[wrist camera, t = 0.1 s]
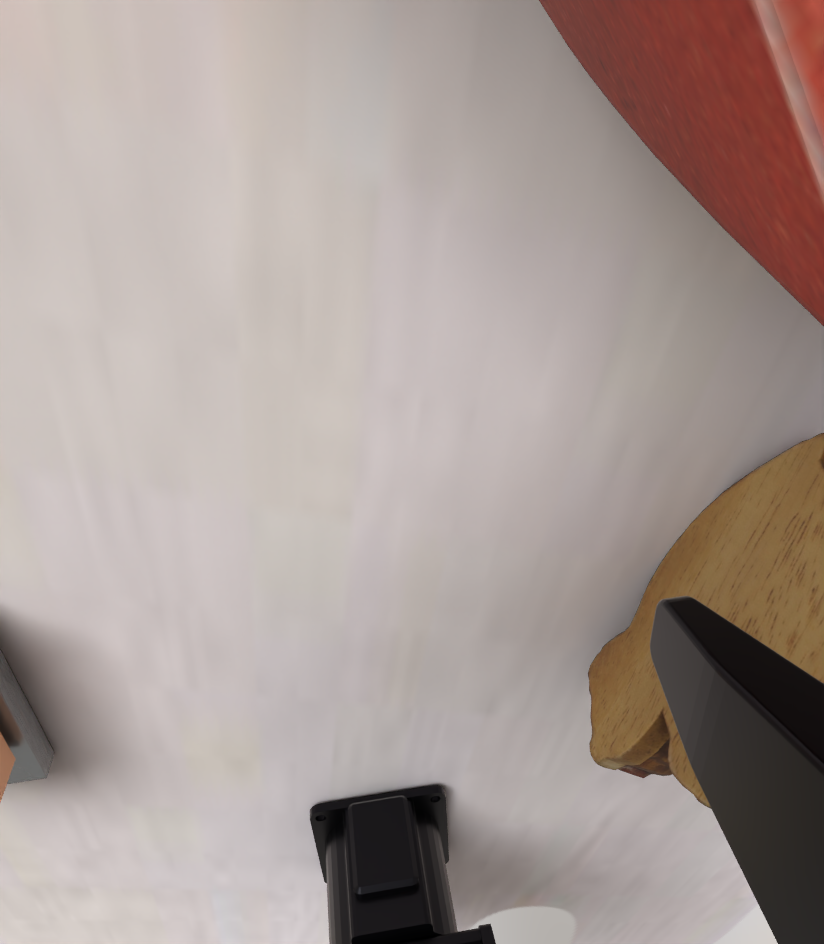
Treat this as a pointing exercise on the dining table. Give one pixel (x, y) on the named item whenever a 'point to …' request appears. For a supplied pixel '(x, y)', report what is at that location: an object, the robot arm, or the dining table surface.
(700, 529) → the wooden carving
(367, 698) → the dining table surface
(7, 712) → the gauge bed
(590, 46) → the plant pot
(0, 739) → the cardboard box
